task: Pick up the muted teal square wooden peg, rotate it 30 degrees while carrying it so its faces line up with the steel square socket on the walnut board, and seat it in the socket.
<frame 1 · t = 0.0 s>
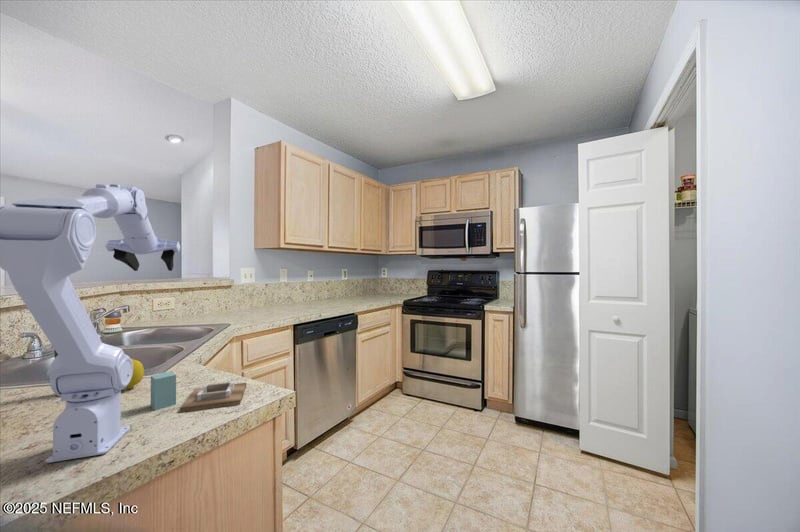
hand: (154, 267, 84), 32 cm above the counter, tool tilted 50°, fingers open, 7 cm apart
lemon: (130, 389, 84), on the counter
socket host: (216, 398, 78), on the counter
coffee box: (77, 392, 82), on the counter
square peg: (163, 404, 74), on the counter
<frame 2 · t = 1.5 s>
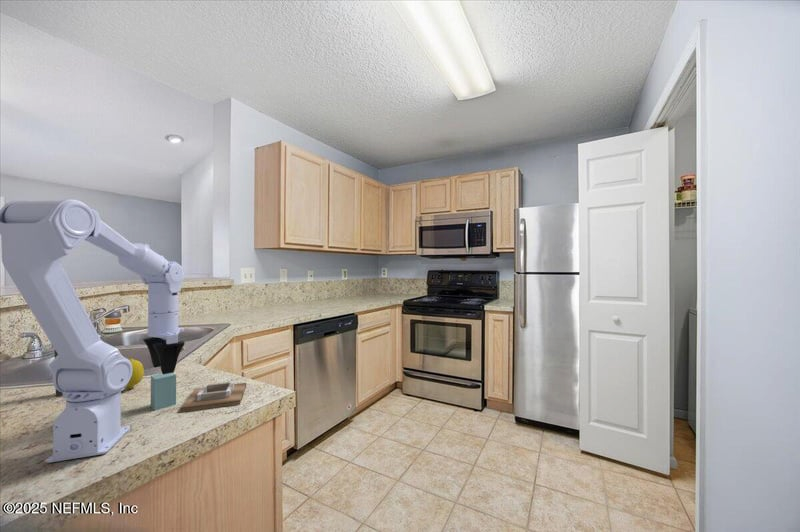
hand: (163, 369, 74), 8 cm above the counter, tool pointing down, fingers open, 7 cm apart
nothing on the counter moved.
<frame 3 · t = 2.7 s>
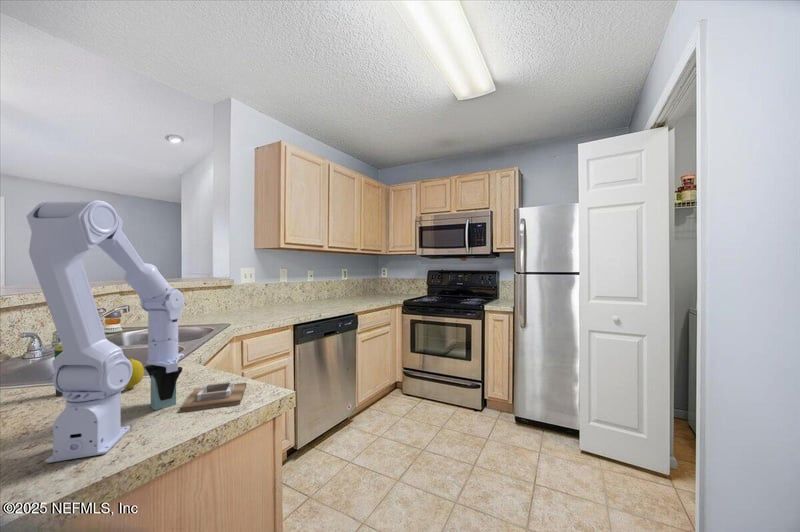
hand: (163, 396, 74), 2 cm above the counter, tool pointing down, fingers closed on square peg, 4 cm apart
square peg: (163, 404, 74), on the counter, touching gripper
everything else where it was.
when the fingers open (3 cm above the counter, at t = 7.7 s): square peg stays where it is, resting on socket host.
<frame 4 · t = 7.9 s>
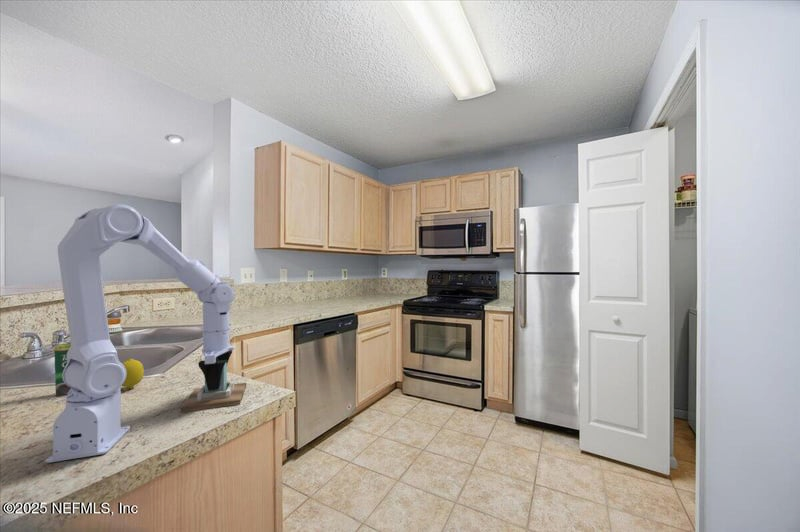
hand: (216, 385, 78), 3 cm above the counter, tool pointing down, fingers open, 6 cm apart
square peg: (216, 394, 78), point 1 cm above the counter, touching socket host
everything else where it was.
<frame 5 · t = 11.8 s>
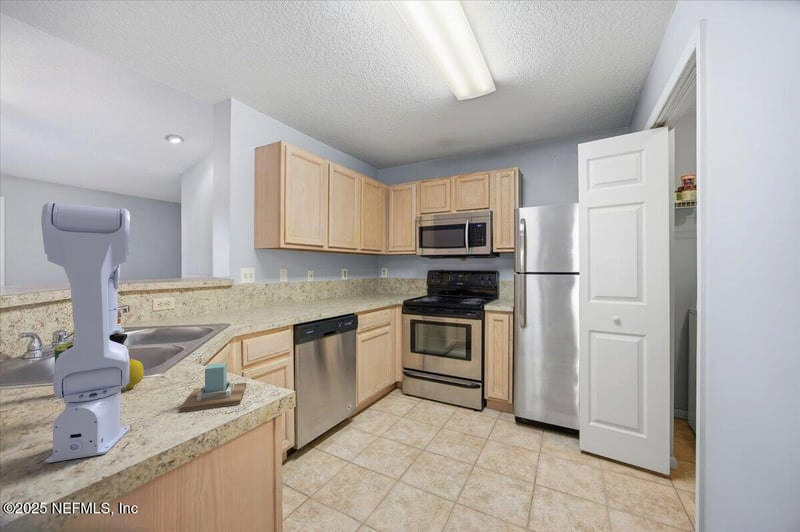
hand: (99, 372, 69), 9 cm above the counter, tool pointing down, fingers open, 7 cm apart
nothing on the counter moved.
at the end: square peg 0.1 cm off-centre on the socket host, point 1.0 cm above the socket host's base; square peg tilted 0°; the gripper is holding nothing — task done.
